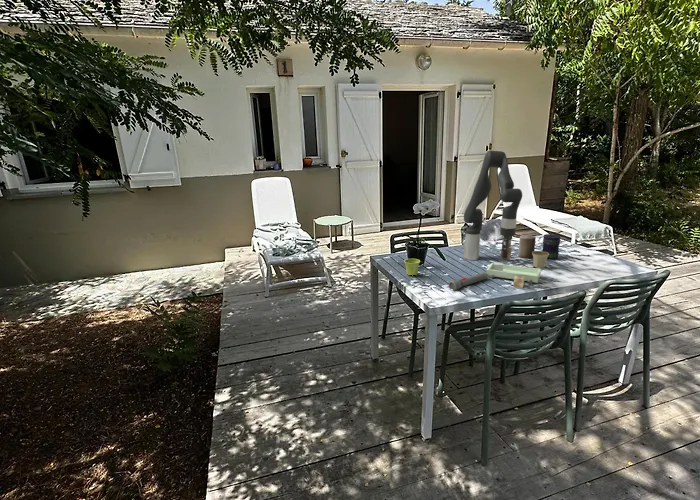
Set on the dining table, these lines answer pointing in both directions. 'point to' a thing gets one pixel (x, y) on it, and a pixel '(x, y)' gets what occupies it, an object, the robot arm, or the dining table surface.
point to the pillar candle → (526, 246)
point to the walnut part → (507, 253)
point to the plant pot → (412, 266)
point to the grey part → (498, 266)
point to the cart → (515, 272)
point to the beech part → (518, 282)
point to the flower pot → (539, 258)
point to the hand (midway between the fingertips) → (505, 256)
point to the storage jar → (551, 246)
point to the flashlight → (467, 281)
